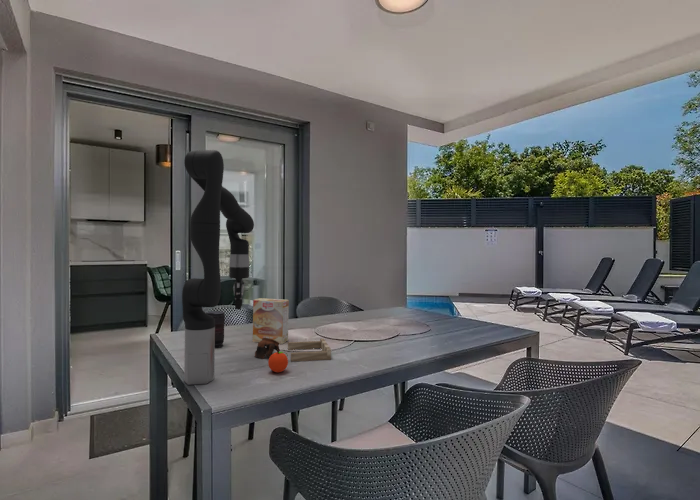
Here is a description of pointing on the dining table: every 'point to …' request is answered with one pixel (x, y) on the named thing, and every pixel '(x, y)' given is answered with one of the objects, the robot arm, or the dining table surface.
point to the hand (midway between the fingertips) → (238, 307)
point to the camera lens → (218, 326)
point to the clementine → (278, 361)
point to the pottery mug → (266, 348)
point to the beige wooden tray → (310, 356)
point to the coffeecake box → (270, 319)
